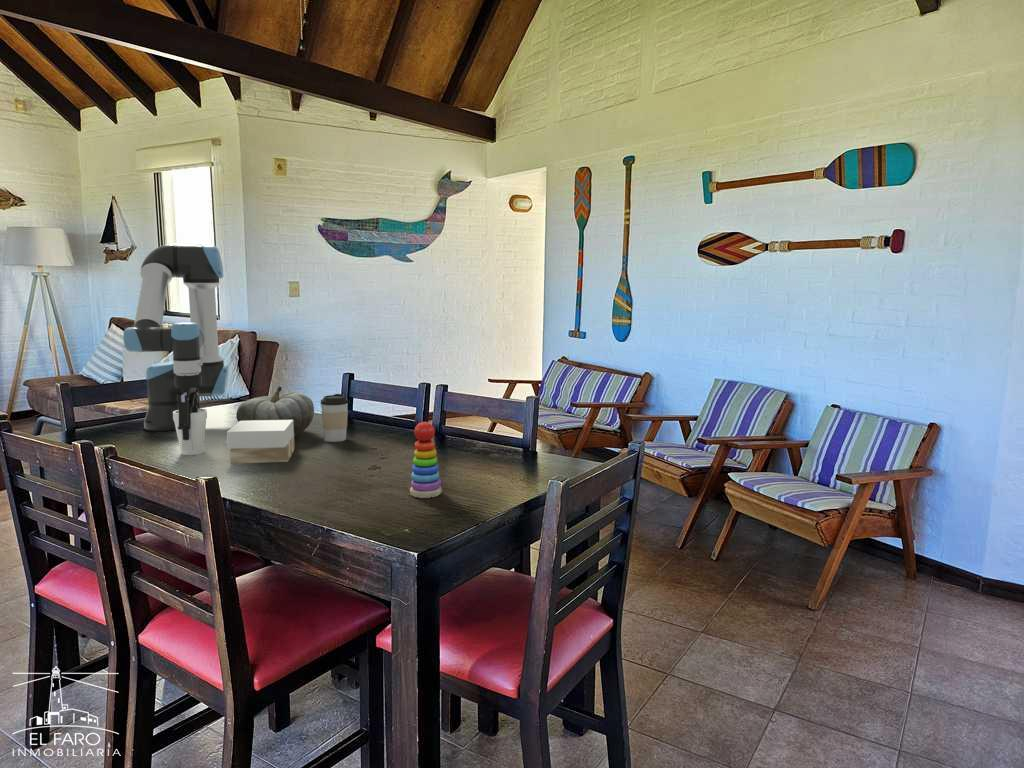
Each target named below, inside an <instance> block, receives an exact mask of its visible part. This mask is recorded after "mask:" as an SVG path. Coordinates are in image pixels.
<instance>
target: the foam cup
mask: <svg viewBox="0 0 1024 768" xmlns="http://www.w3.org/2000/svg"><path fill="white" fill-rule="evenodd" d="M190 418H191V425H190V429H192V445H193V450H184V451H182V434H181V430H178V427H179V410H176V411H173V420H174V422H175V427H176V430H175V431H176V436H177V441H178V447H179V451H180V453H181V455H182V456H194V455H201V454H203V453H204V449H205V438H206V426H207V419H208V411H207V409H206V408H201V407H200V408H198V412H196V413H191V414H190Z"/></svg>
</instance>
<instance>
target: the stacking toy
mask: <svg viewBox="0 0 1024 768" xmlns="http://www.w3.org/2000/svg"><path fill="white" fill-rule="evenodd" d="M413 433H414V437H415V439H416V440H417V441H415V442H414V448H415V450H414V452H413V453H414V457H413V460H412V462H413V465H412V468H411V469H412V473H411V474H410V476H411V479H412V480H411V482H410V485H411V487H410V489H409V493H410V495H411V496H413V497H414V498H417V497H418V499H430V498H431V497H432V498H435V497H438V496H439V495H441V494H442V492H443V491H442V487H441V484H442V480H441V479H440V478H439V477H440V473H439V471H438V470H439V465H438V464H437V463H438V458H437V456H436V455H437V450H436V448H435V446H436V443H435V442H434V440H432V439H433V438H434V436H435V434H436V430H435V426H434V425H432V423H430V422H427V421H422V422H418V423H417V425H416V426H415V427H414V430H413Z"/></svg>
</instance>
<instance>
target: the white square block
mask: <svg viewBox="0 0 1024 768" xmlns="http://www.w3.org/2000/svg"><path fill="white" fill-rule="evenodd" d="M293 436H294V424H293V420H251V421H239V422H238V421H237V422H236V424H234V425H233V426H232V427H231V428H229V429H228V430H227V431H226V442H227V444H226V445H227V449H228V450H230V449H236V448H278V447H286V445H287V444H288V443H289V441H290V440H291V439H292V437H293ZM294 437H295V436H294Z"/></svg>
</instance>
